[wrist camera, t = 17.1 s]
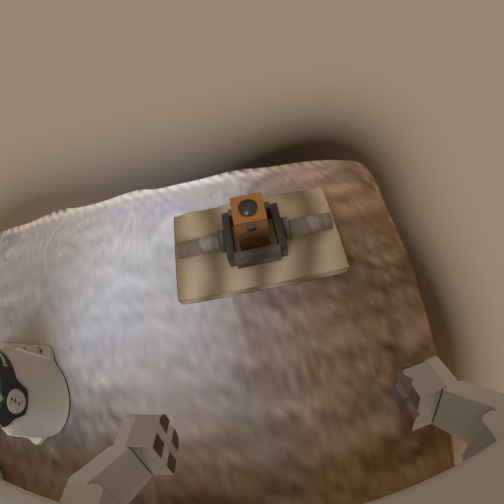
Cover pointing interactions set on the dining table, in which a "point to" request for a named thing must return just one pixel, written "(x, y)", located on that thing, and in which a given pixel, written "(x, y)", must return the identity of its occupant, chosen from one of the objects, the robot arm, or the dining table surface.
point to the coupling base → (257, 249)
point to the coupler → (250, 221)
